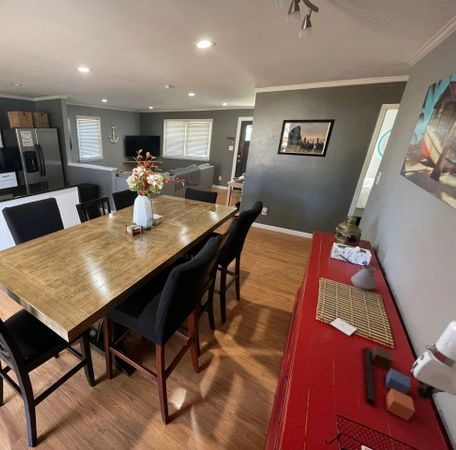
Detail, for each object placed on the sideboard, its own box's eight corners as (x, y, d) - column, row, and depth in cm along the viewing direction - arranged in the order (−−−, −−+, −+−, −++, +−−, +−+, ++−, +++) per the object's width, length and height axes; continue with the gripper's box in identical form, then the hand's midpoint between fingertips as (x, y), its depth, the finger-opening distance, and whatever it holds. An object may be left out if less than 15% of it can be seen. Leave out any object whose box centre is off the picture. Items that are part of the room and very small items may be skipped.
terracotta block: (405, 407, 79) (412, 397, 77) (408, 421, 76) (415, 411, 74) (385, 397, 82) (391, 388, 80) (387, 410, 78) (393, 400, 76)
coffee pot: (375, 286, 141) (385, 265, 135) (372, 295, 134) (382, 272, 128) (333, 271, 155) (340, 250, 150) (328, 277, 148) (335, 256, 142)
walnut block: (385, 360, 96) (390, 351, 94) (388, 370, 92) (393, 360, 90) (369, 354, 98) (374, 345, 96) (371, 363, 94) (376, 354, 92)
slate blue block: (403, 387, 86) (410, 377, 84) (404, 397, 82) (410, 387, 80) (385, 377, 89) (390, 368, 87) (385, 387, 85) (390, 377, 84)
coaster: (357, 328, 110) (357, 327, 110) (349, 335, 106) (349, 334, 106) (338, 317, 117) (338, 316, 116) (329, 323, 113) (330, 322, 112)
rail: (368, 352, 99) (370, 348, 98) (372, 405, 80) (374, 401, 79) (363, 350, 100) (365, 346, 99) (366, 402, 80) (369, 398, 80)
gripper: (418, 352, 75) (394, 389, 83) (492, 381, 67) (458, 420, 74) (414, 337, 81) (391, 373, 88) (482, 362, 73) (450, 400, 80)
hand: (422, 395), depth 81 cm, fingers closed
